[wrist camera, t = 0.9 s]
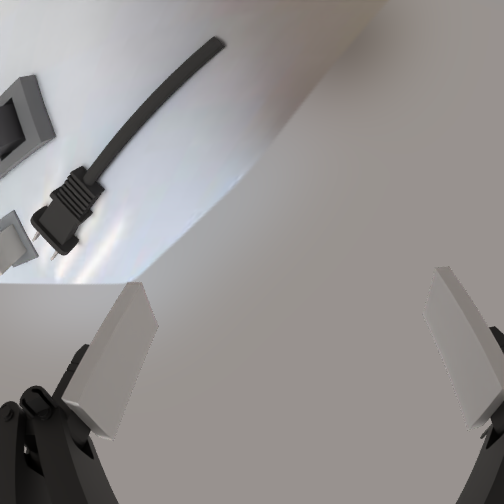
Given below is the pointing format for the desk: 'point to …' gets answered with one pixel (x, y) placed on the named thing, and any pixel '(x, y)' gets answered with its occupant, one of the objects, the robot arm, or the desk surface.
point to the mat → (14, 220)
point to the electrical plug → (105, 164)
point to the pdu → (26, 120)
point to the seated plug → (10, 129)
